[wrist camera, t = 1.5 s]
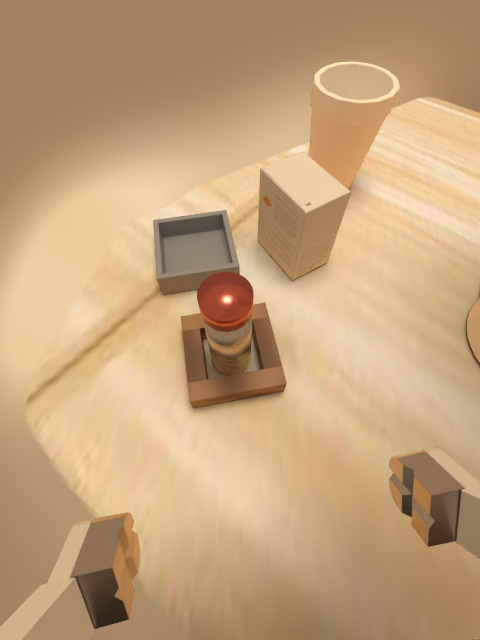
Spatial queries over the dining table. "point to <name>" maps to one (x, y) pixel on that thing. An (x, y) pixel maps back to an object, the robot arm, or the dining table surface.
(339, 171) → the foam cup
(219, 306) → the red-lidded jar
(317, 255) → the small box
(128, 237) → the dining table surface
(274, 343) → the wooden square frame
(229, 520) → the dining table surface
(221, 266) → the tray
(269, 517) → the dining table surface
